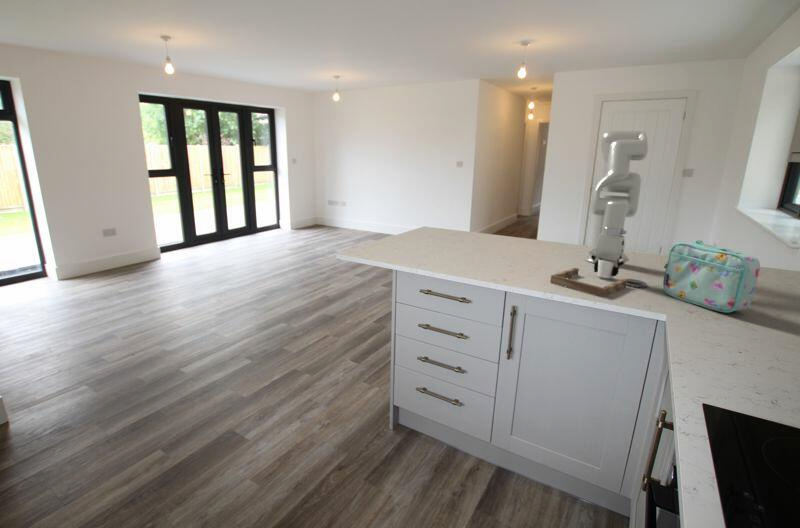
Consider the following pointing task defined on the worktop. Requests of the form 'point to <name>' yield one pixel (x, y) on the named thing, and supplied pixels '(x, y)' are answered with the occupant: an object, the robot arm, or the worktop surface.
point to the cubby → (599, 291)
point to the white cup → (605, 268)
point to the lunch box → (711, 276)
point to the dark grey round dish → (636, 283)
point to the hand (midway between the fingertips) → (605, 273)
